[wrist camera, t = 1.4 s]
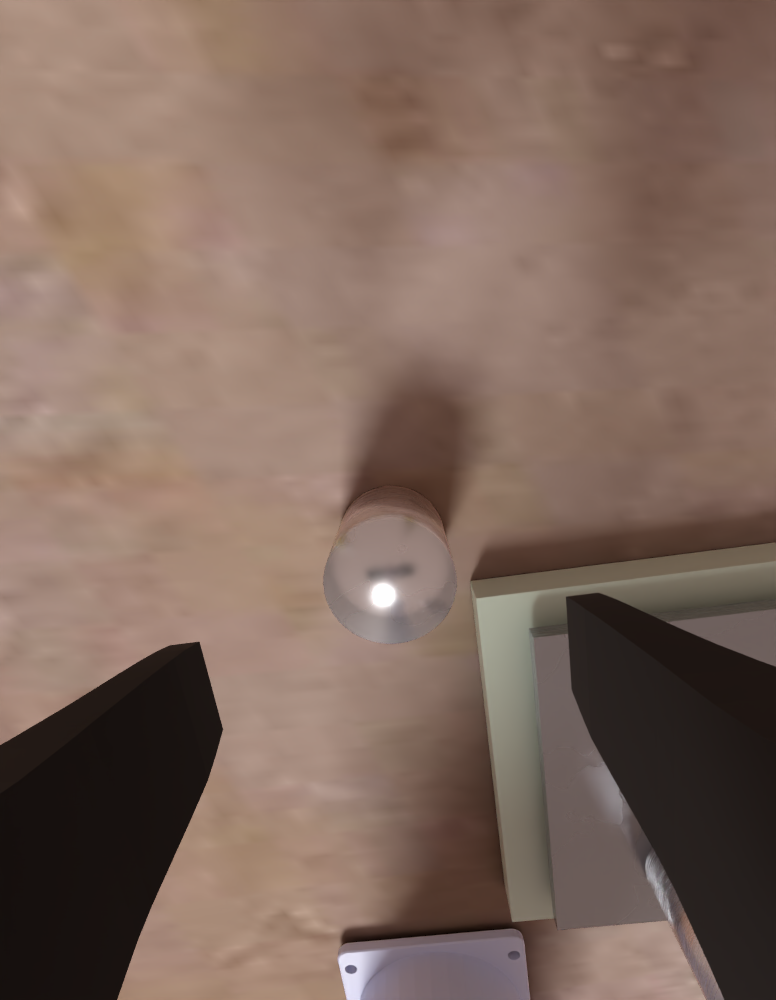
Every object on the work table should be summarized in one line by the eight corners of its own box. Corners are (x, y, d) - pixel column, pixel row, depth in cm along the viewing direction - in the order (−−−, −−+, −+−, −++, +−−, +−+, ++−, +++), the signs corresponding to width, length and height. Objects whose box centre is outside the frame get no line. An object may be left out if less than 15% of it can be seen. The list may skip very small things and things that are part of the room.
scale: (851, 854, 21) (890, 896, 19) (504, 886, 21) (513, 930, 20) (885, 528, 17) (936, 545, 15) (470, 580, 18) (477, 602, 16)
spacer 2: (749, 897, 18) (845, 1043, 14) (646, 907, 18) (713, 1053, 14) (752, 816, 17) (856, 947, 13) (644, 827, 17) (715, 959, 13)
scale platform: (807, 863, 20) (841, 905, 18) (545, 888, 20) (557, 930, 19) (829, 576, 17) (872, 597, 15) (521, 614, 17) (533, 638, 16)
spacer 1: (449, 577, 18) (463, 635, 14) (349, 590, 18) (335, 650, 14) (437, 478, 17) (448, 511, 13) (331, 493, 17) (312, 530, 13)
